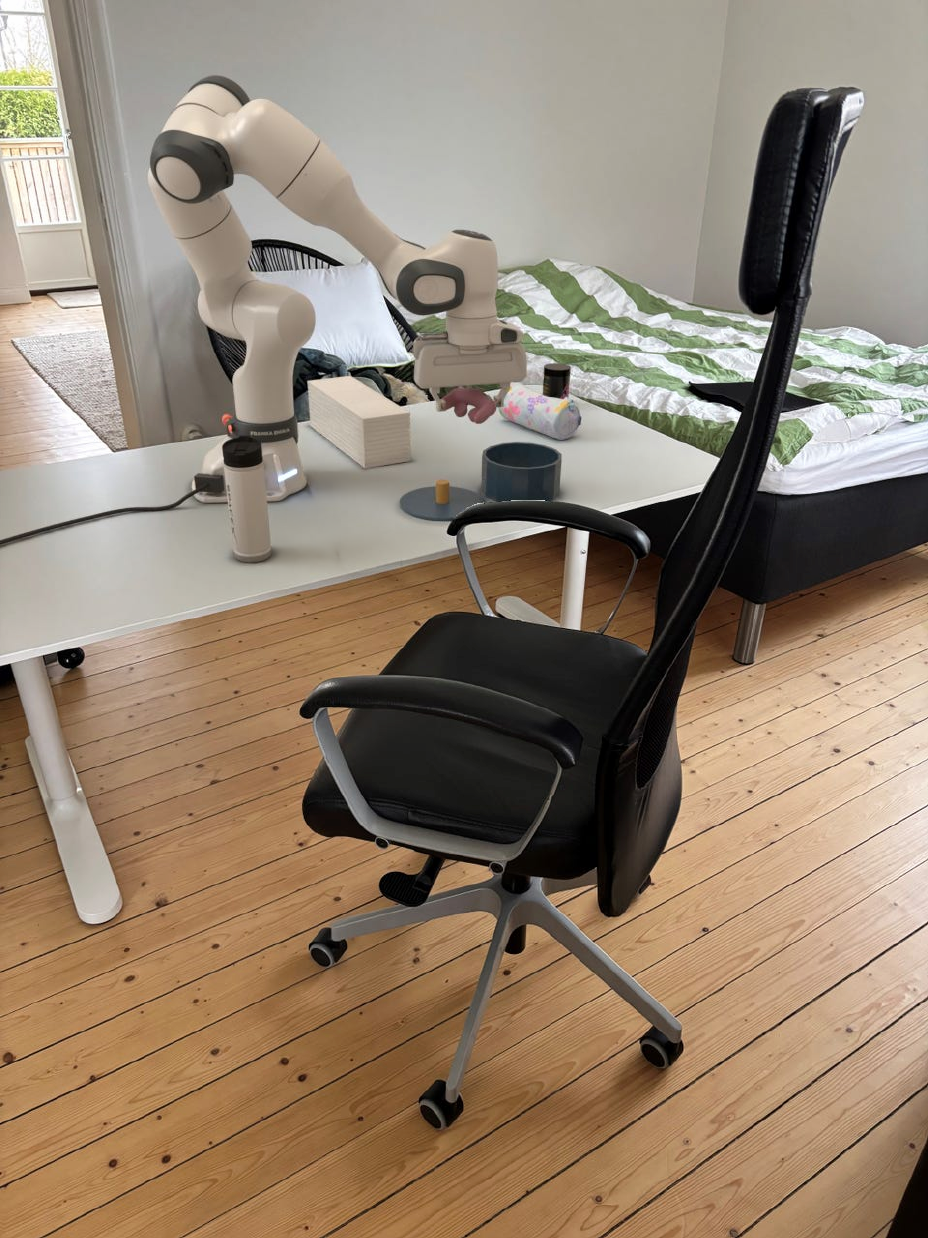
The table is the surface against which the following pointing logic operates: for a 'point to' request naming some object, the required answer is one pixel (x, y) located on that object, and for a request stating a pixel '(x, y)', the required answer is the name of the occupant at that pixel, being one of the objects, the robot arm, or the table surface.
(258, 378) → the robot arm
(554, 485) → the tin
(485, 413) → the pink curved piece
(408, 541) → the table surface
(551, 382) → the supplement container
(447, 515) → the tin lid
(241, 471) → the travel mug
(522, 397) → the pencil case
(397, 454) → the stack of papers
